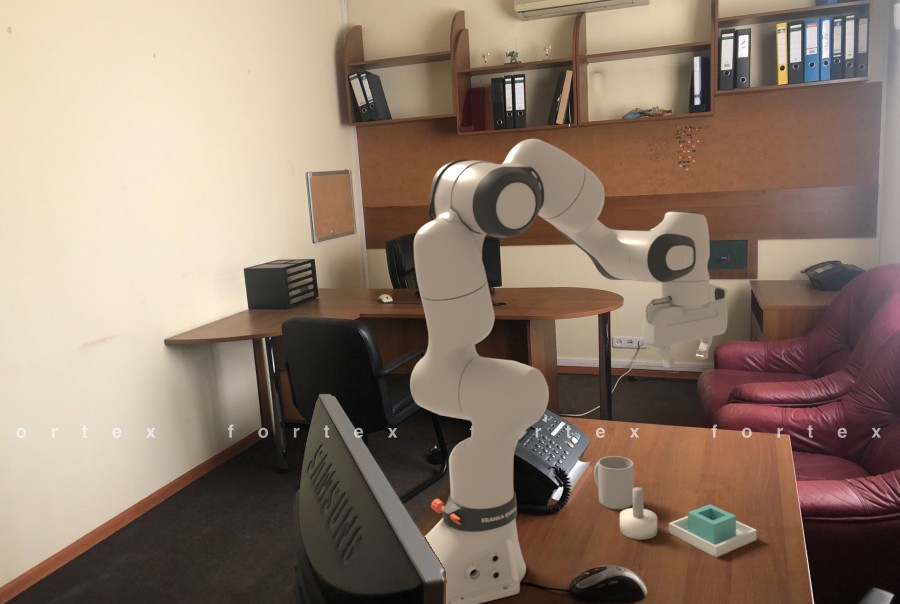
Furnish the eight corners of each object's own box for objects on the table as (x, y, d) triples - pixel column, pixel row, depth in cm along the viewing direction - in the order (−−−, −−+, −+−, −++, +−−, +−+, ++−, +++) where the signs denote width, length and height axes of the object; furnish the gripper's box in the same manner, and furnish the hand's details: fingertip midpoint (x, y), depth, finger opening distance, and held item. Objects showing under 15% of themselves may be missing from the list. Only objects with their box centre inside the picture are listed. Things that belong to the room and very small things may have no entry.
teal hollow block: (713, 545, 127) (713, 524, 126) (681, 528, 133) (681, 509, 133) (735, 535, 129) (736, 515, 129) (703, 520, 136) (703, 501, 135)
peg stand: (638, 543, 130) (637, 500, 128) (612, 528, 136) (611, 487, 134) (665, 532, 133) (664, 491, 132) (638, 518, 139) (638, 478, 138)
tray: (715, 557, 123) (715, 547, 123) (668, 532, 133) (668, 523, 133) (756, 539, 129) (756, 529, 128) (708, 517, 138) (708, 508, 138)
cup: (615, 513, 142) (614, 472, 141) (583, 496, 151) (582, 457, 149) (641, 504, 145) (640, 463, 144) (608, 487, 154) (607, 449, 153)
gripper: (658, 302, 127) (659, 374, 129) (733, 289, 137) (732, 357, 139) (634, 298, 133) (635, 368, 135) (707, 286, 142) (707, 351, 145)
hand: (685, 362), depth 137 cm, fingers open, 8 cm apart
